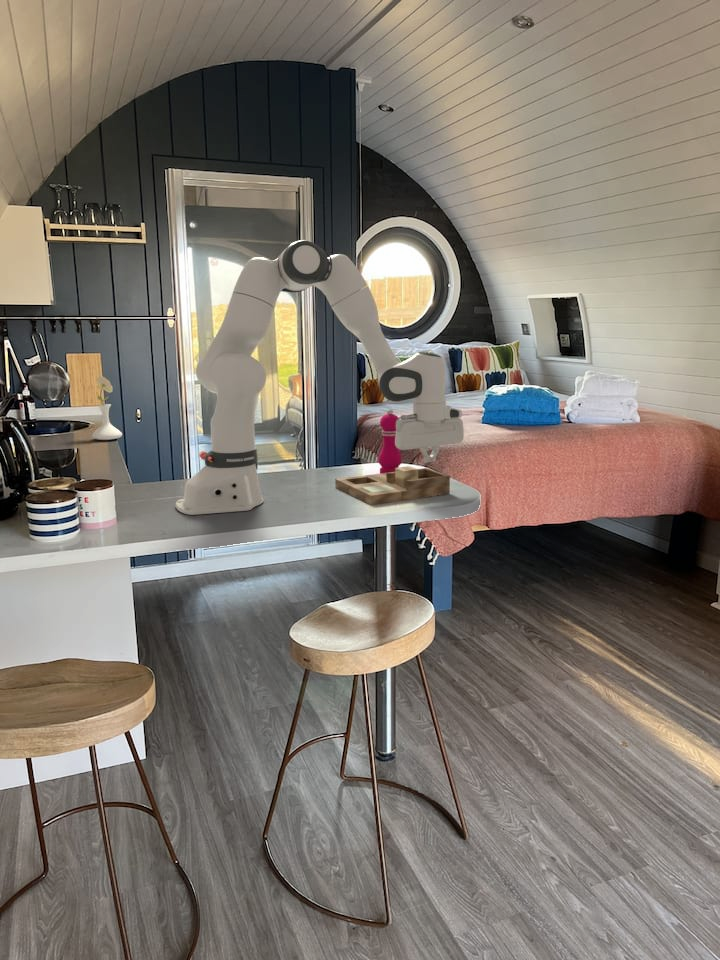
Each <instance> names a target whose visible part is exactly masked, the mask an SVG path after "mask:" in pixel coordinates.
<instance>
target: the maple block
mask: <svg viewBox="0 0 720 960" xmlns="http://www.w3.org/2000/svg"><path fill="white" fill-rule="evenodd" d="M418 469H419V468H416V467H413V466H410V465H409V466H408V465H407V466H401V467H400V466H399V468H395V484H397V485H399V486H401V487H406V481H407V480H415V479H418Z"/></svg>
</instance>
